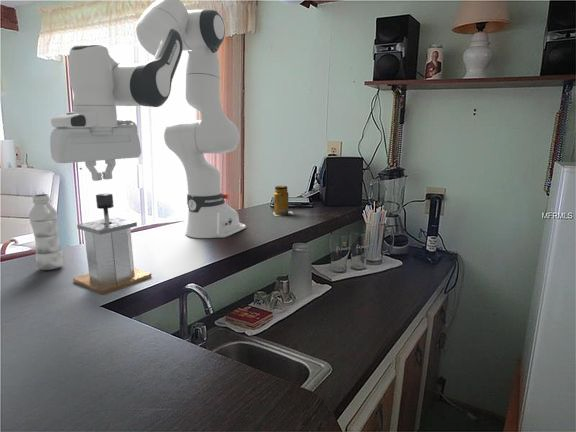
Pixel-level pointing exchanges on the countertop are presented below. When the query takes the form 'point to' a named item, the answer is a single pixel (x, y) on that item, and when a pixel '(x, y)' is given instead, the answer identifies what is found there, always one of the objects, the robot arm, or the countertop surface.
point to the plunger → (105, 204)
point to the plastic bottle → (46, 233)
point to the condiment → (281, 201)
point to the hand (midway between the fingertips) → (102, 179)
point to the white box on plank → (109, 256)
